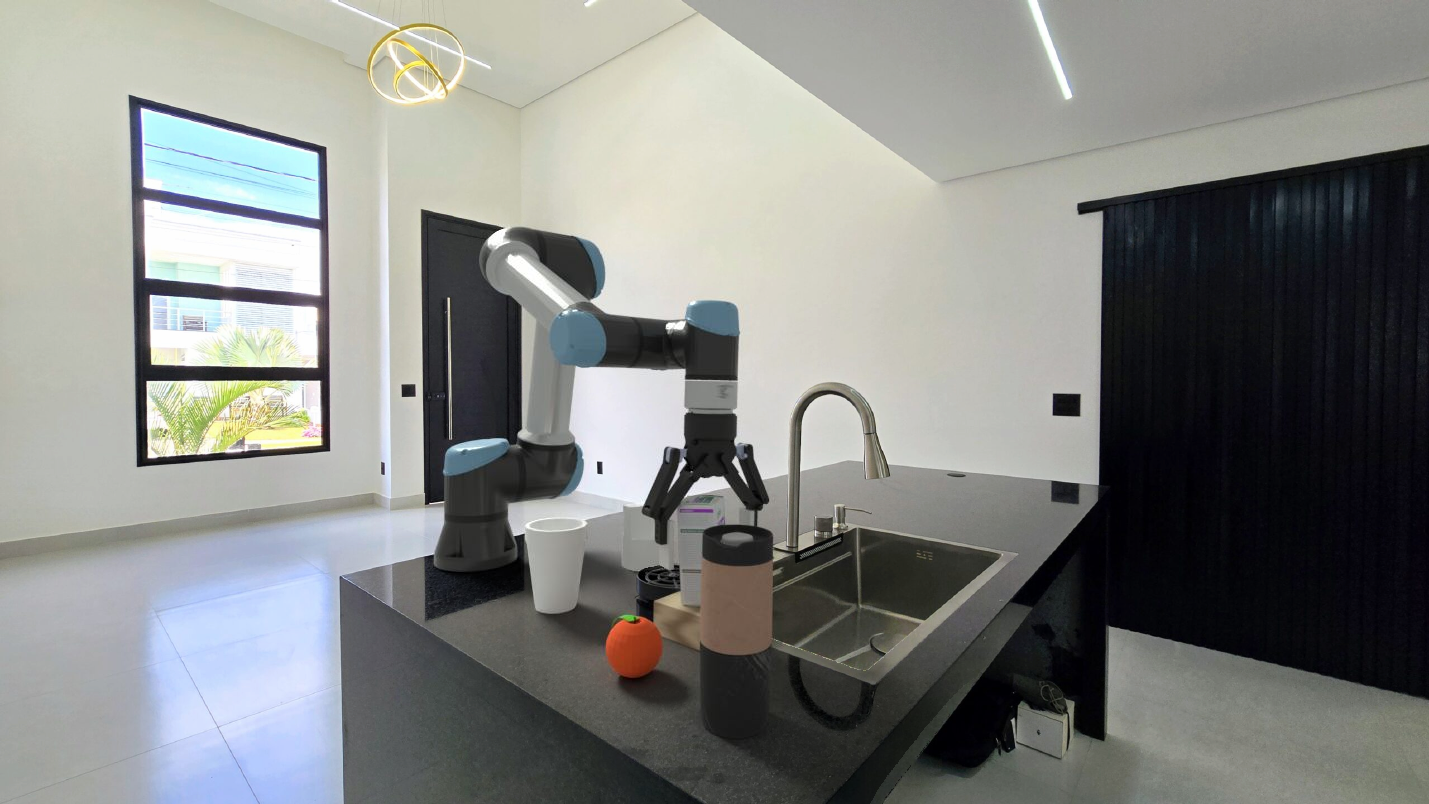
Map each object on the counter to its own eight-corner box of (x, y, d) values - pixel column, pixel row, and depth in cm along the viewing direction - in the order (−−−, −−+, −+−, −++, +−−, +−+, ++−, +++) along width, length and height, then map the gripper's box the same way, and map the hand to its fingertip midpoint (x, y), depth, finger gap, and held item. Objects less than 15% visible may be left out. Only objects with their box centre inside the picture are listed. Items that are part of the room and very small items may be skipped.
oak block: (653, 635, 86) (653, 600, 86) (702, 613, 95) (703, 581, 94) (713, 658, 79) (714, 621, 79) (761, 632, 88) (761, 598, 88)
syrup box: (721, 608, 83) (718, 504, 82) (679, 605, 84) (676, 503, 83) (728, 592, 89) (726, 494, 88) (689, 590, 90) (686, 493, 89)
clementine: (588, 671, 74) (588, 614, 74) (631, 653, 79) (632, 600, 79) (630, 695, 69) (631, 633, 69) (674, 674, 74) (675, 616, 74)
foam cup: (536, 622, 89) (537, 534, 89) (516, 602, 96) (516, 521, 96) (596, 608, 95) (597, 526, 94) (572, 591, 102) (573, 515, 102)
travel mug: (746, 694, 70) (749, 521, 69) (784, 728, 63) (788, 537, 62) (686, 710, 66) (689, 527, 65) (719, 748, 59) (723, 545, 59)
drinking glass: (638, 575, 111) (639, 510, 111) (612, 563, 118) (613, 502, 118) (677, 566, 117) (678, 504, 117) (650, 555, 124) (651, 497, 124)
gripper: (644, 414, 76) (641, 581, 77) (794, 411, 90) (791, 553, 90) (618, 411, 82) (616, 566, 83) (763, 409, 96) (760, 541, 97)
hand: (707, 559), depth 87 cm, fingers open, 13 cm apart
